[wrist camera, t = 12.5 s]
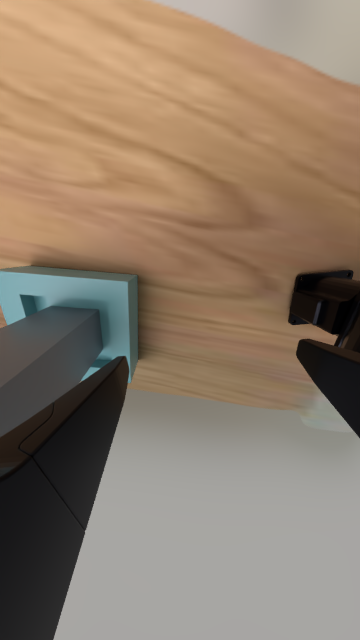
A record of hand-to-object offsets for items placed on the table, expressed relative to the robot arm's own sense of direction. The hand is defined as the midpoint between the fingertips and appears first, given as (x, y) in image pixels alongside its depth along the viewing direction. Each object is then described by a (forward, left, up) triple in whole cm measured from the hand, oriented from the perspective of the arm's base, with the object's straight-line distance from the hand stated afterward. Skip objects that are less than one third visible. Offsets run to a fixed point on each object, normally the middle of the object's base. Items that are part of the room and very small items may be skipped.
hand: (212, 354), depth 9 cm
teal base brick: (+13, +2, -13) cm, 18 cm away
